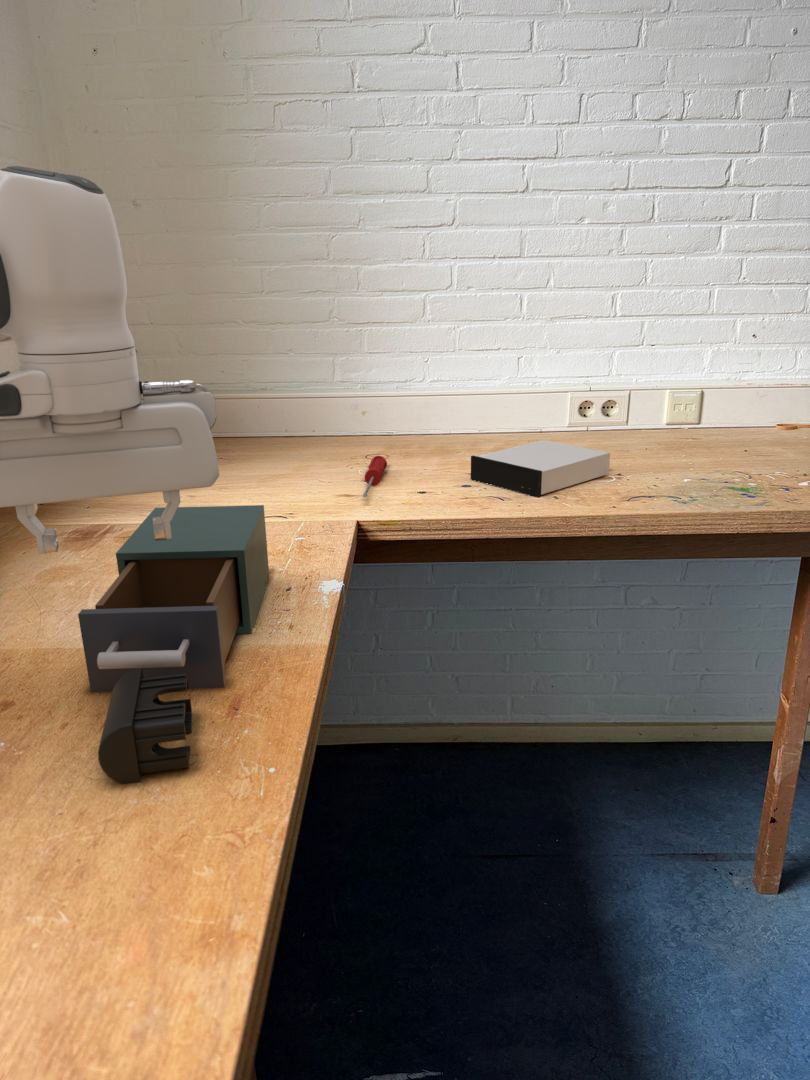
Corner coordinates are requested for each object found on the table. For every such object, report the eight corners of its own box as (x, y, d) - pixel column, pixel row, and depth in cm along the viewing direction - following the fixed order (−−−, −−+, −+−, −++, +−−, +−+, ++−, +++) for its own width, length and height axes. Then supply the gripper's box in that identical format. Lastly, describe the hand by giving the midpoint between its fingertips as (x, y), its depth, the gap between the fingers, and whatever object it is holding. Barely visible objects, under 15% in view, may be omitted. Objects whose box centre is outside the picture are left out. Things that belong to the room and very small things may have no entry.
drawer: (216, 711, 78) (207, 629, 75) (76, 716, 78) (61, 633, 75) (248, 620, 98) (242, 552, 95) (136, 623, 97) (126, 555, 94)
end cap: (117, 733, 76) (107, 670, 74) (193, 723, 78) (186, 661, 75) (104, 798, 67) (92, 729, 65) (190, 786, 69) (182, 717, 66)
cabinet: (251, 633, 96) (244, 549, 93) (127, 637, 96) (115, 553, 92) (269, 577, 113) (263, 505, 109) (164, 580, 113) (155, 507, 109)
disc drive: (470, 479, 161) (470, 455, 159) (541, 460, 175) (542, 438, 173) (538, 497, 148) (539, 471, 147) (609, 475, 162) (611, 451, 161)
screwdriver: (355, 505, 145) (354, 487, 144) (371, 471, 169) (370, 454, 168) (374, 506, 145) (373, 487, 144) (387, 471, 168) (387, 454, 167)
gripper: (209, 373, 71) (224, 520, 75) (-46, 387, 65) (-13, 547, 70) (216, 382, 65) (231, 541, 70) (-64, 399, 59) (-27, 572, 64)
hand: (107, 544), depth 70 cm, fingers open, 8 cm apart
